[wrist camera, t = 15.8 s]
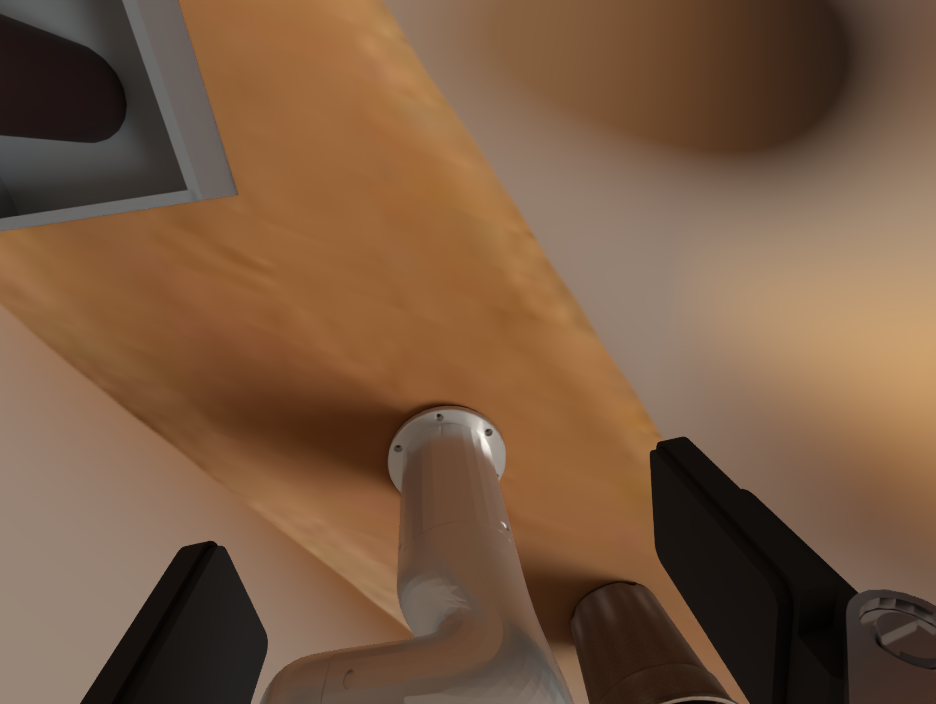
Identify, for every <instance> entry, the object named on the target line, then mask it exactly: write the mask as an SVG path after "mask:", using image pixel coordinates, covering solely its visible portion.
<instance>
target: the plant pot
mask: <svg viewBox="0 0 936 704" xmlns="http://www.w3.org/2000/svg"><path fill="white" fill-rule="evenodd" d="M570 627H571V633H572V636H573V640H574V644H575V647H576V651H577V655H578V659H579V663H580V667H581V671H582V675H583V679H584V684H585V688H586V692H587V696H588V700H589V704H738V703H737V702H735V701H734V700H732V699H731V698H730V696H729V695H728V694H727V692H726V691H725V689H724V688H723V687H722V685H721V684H720V682H719V681H718V680H717V678H716V677H715V676H714V675H713V674H712V673H710V672H709V671H708V670H707V669H706V668H705V666H704V665H703V664H702V662H701V661H700V659H699V658H698V657H697V655H696V654H695V652H694V651H693V650H692V648H691V647H690V645H689V644H688V643H687V641H686V640H685V638H684V637H683V636H682V634H681V633H680V631H679V630H678V628H677V627H676V626H675V624H674V623H673V621H672V620H671V618H670V617H669V616H668V614H667V613H666V611H665V610H664V608H663V607H662V606H661V604H660V603H659V601H658V600H657V598H656V597H655V595H654V594H653V593H652V592H651V591H650V590H649V589H647V588H646V587H644V586H642V585H639V584H635V585H628V584H625V583H623V582H620V583H614V584H609V585H606V586H603V587H601V588H599V589H597V590H595V591H593V592H591V593H590V594H588V595H587V596H586V597H585V598H584V599H582V600H581V602H580V603H579V604H578V605H577V606H576V609H575V614H574V617H573V618H572V619H571V621H570Z"/></svg>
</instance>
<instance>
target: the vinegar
mask: <svg viewBox="0 0 936 704" xmlns="http://www.w3.org/2000/svg"><path fill="white" fill-rule="evenodd" d="M126 108H127V102H126V97H125V91H124V88H123V86H122V84H121V82H120V80H119V78H118V75H117V73H116V72H115V71H114V70H113V69H112V67H111V66H110V65H109V64H108V63H107V61H106V60H105V59H104V58H102V57H101V56H100V55H98V54H97V53H96V52H94V51H93V50H91V49H90V48H89V47H86V46H84V45H81V44H79V43H76V42H73V41H71V40H68V39H66V38H63V37H60V36H58V35H55V34H52V33H50V32H47V31H44V30H42V29H39V28H37V27H34V26H31V25H29V24H26V23H23V22H21V21H18V20H15V19H13V18H10V17H8V16H5V15H2V14H0V135H1V136H12V137H23V138H34V139H46V140H57V141H68V142H79V143H97V142H100V141H104V140H107V139H109V138H110V137H112V136H113V135H114V134H115V133H116V132H118V131H119V129H120V128H121V126H122V124H123V122H124V120H125V116H126Z"/></svg>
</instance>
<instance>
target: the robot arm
mask: <svg viewBox="0 0 936 704" xmlns="http://www.w3.org/2000/svg"><path fill="white" fill-rule="evenodd" d="M437 414H441V415H437ZM487 429H488V430H487ZM398 445H399V446H398ZM505 463H506V450H505V446H504V442H503V440H502V437H501V434H500V433H499V431H498V430H497V428H496V427H495V425H494V424H493V423H492V422H491V421H490V420H489V419H488V418H486V417H485V416H483V415H482V414H480V413H478V412H476V411H474V410H471V409H469V408H464V407H459V406H440V407H434V408H431V409H427V410H424V411H422V412H420V413H418V414H416V415H414V416H413V417H411V418H410V419H409V420H407V421H406V422H405V423H404V424H403V425H402V426H401V427H400V428H399V429H398V431H397V432H396V434H395V436H394V437H393V439H392V442H391V445H390V448H389V454H388V470H389V474H390V478H391V480H392V482H393V484H394V485H395V487H396V488H397V489H398V491H399V492H400V493H401V504H400V525H399V545H398V565H397V594H398V599H399V604H400V608H401V610H402V613H403V616H404V618H405V620H406V622H407V624H408V626H409V627H410V629H411V630H412V632H413V634H414V635H415V636H416V637H411V638H409V639H406V640H400V641H393V642H386V643H379V644H373V645H366V646H359V647H353V648H345V649H339V650H333V651H327V652H322V653H317V654H313V655H309V656H306V657H302V658H300V659H298V660H295V661H293V662H292V663H290V664H288V665H287V666H285V667H284V668H283V669H282V670H281V671H279V672H278V673H277V674H276V675H275V677H274V678H273V680H272V681H271V682H270V683H269V685H268V687H267V688H266V690H265V692H264V695H263V697H262V699H261V701H260V704H574V702H573V699H572V696H571V694H570V691H569V689H568V686H567V683H566V681H565V679H564V676H563V674H562V672H561V670H560V667H559V665H558V663H557V661H556V659H555V657H554V655H553V653H552V651H551V648H550V646H549V644H548V642H547V640H546V638H545V635H544V633H543V631H542V629H541V626H540V624H539V621H538V619H537V616H536V614H535V611H534V608H533V605H532V602H531V599H530V596H529V593H528V589H527V586H526V583H525V579H524V576H523V572H522V568H521V564H520V561H519V557H518V553H517V550H516V546H515V542H514V538H513V535H512V531H511V527H510V523H509V519H508V515H507V512H506V508H505V504H504V500H503V496H502V492H501V488H500V485H499V480H500V479H501V476H502V474H503V472H504V468H505ZM650 468H651V486H652V503H653V520H654V538H655V548H656V552H657V555H658V558H659V560H660V562H661V564H662V565H663V567H664V568H665V570H666V572H667V573H668V575H669V576H670V578H671V580H672V581H673V583H674V584H675V586H676V587H677V589H678V591H679V592H680V594H681V595H682V597H683V599H684V600H685V602H686V603H687V605H688V606H689V608H690V610H691V611H692V613H693V614H694V616H695V617H696V619H697V621H698V622H699V624H700V625H701V627H702V629H703V630H704V632H705V633H706V635H707V636H708V638H709V640H710V641H711V643H712V644H713V646H714V648H715V649H716V651H717V652H718V654H719V655H720V657H721V659H722V660H723V662H724V663H725V665H726V667H727V668H728V670H729V671H730V673H731V674H732V676H733V678H734V679H735V681H736V682H737V684H738V685H739V687H740V689H741V690H742V692H743V693H744V695H745V697H746V698H747V700H748V701H749V703H750V704H936V606H935V605H933V604H931V603H930V602H928V601H926V600H924V599H921V598H918V597H915V596H912V595H909V594H907V593H903V592H897V591H892V590H885V589H881V590H867V591H864V592H861V593H858V592H857V591H856V590H855V589H854V588H852V587H851V586H850V585H849V584H848V583H847V582H846V581H845V580H844V579H843V578H842V577H841V576H840V575H839V574H838V573H837V572H836V571H834V570H833V569H832V568H831V567H830V566H829V565H828V564H827V563H826V562H825V561H824V560H823V559H822V558H821V557H820V556H819V555H817V554H816V553H815V552H814V551H813V550H812V549H811V548H810V547H809V546H808V545H807V544H806V543H805V542H804V541H803V540H802V539H800V538H799V537H798V536H797V535H796V534H795V533H794V532H793V531H792V530H791V529H790V528H789V527H788V526H787V525H786V524H784V523H783V522H782V521H781V520H780V519H779V518H778V517H777V516H776V515H775V514H774V513H773V512H772V511H771V510H770V509H769V508H767V507H766V506H765V505H764V504H763V503H762V502H761V501H760V500H759V499H758V498H757V497H756V496H755V495H753V494H752V493H751V492H749V491H748V490H745V489H740V488H739V487H738V486H737V485H736V484H735V483H734V482H733V481H732V480H731V479H730V478H729V477H728V476H727V475H726V474H724V473H723V472H722V471H721V470H720V469H719V468H718V467H717V466H716V465H715V464H714V463H713V462H712V461H711V460H710V459H709V458H708V457H707V456H706V455H705V454H704V453H703V452H702V451H701V450H699V448H697V447H696V446H695V445H694V444H693V443H692V442H691V441H690V440H689V439H688V438H686V437H679V438H675V439H670V440H665V441H660V442H658V443H657V446H656V450H652V451H651V452H650ZM267 647H268V639H267V634H266V632H265V629H264V627H263V625H262V623H261V621H260V619H259V617H258V615H257V613H256V611H255V609H254V607H253V604H252V602H251V600H250V598H249V596H248V594H247V592H246V590H245V588H244V585H243V583H242V582H241V579H240V577H239V575H238V573H237V571H236V569H235V567H234V565H233V562H232V560H231V558H230V556H229V554H228V552H227V550H226V549H225V547H223V546H218V545H217V544H216V543H215V542H214V541H207V542H203V543H198V544H193V545H189V546H185V547H182V548H181V549H180V550H179V551H178V553H177V554H176V556H175V557H174V559H173V560H172V562H171V563H170V565H169V567H168V568H167V570H166V571H165V573H164V574H163V576H162V577H161V579H160V581H159V582H158V584H157V585H156V587H155V588H154V590H153V591H152V593H151V594H150V596H149V597H148V599H147V601H146V602H145V604H144V605H143V607H142V609H141V610H140V611H139V613H138V614H137V616H136V618H135V619H134V621H133V622H132V624H131V626H130V627H129V628H128V630H127V632H126V633H125V635H124V636H123V638H122V639H121V641H120V643H119V644H118V646H117V647H116V649H115V650H114V652H113V653H112V655H111V656H110V658H109V660H108V661H107V663H106V664H105V666H104V667H103V669H102V670H101V672H100V673H99V675H98V677H97V678H96V680H95V681H94V683H93V685H92V686H91V688H90V689H89V691H88V692H87V694H86V695H85V697H84V698H83V700H82V702H81V703H80V704H251V700H252V697H253V694H254V691H255V688H256V685H257V681H258V678H259V675H260V672H261V669H262V666H263V663H264V659H265V657H266V653H267Z"/></svg>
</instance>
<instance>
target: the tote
mask: <svg viewBox="0 0 936 704" xmlns="http://www.w3.org/2000/svg"><path fill="white" fill-rule="evenodd" d="M0 14H2V15H5V16H8V17H10V18H13V19H15V20H18V21H21V22H23V23H26V24H29V25H31V26H34V27H37V28H39V29H42V30H44V31H47V32H50V33H52V34H55V35H58V36H60V37H63V38H66V39H68V40H71V41H73V42H76V43H79V44H81V45H84V46H86V47H89V48H90V49H91V50H93V51H94V52H96V53H97V54H98V55H100V56H101V57H102V58H104V59H105V60H106V61H107V63H108V64H109V65H110V66H111V67H112V69H113V70H114V71H115V72H116V73H117V75H118V78H119V80H120V82H121V84H122V86H123V88H124V91H125V97H126V102H127V108H126V116H125V120H124V122H123V124H122V126H121V128H120V129H119V131H118V132H116V133H115V134H114V135H113V136H112V137H110V138H109V139H107V140H104V141H100V142H97V143H79V142H68V141H57V140H46V139H34V138H23V137H12V136H1V135H0V231H6V230H13V229H19V228H26V227H33V226H39V225H46V224H52V223H59V222H65V221H72V220H78V219H85V218H91V217H98V216H104V215H111V214H117V213H124V212H130V211H137V210H143V209H150V208H156V207H163V206H169V205H176V204H182V203H189V202H195V201H202V200H208V199H215V198H221V197H228V196H234V195H238V193H237V190H236V186H235V183H234V180H233V177H232V173H231V170H230V167H229V164H228V160H227V157H226V154H225V151H224V148H223V144H222V141H221V138H220V135H219V131H218V128H217V125H216V122H215V118H214V115H213V112H212V109H211V106H210V102H209V99H208V96H207V93H206V89H205V86H204V83H203V80H202V76H201V73H200V70H199V67H198V64H197V60H196V57H195V54H194V51H193V47H192V44H191V41H190V38H189V34H188V31H187V28H186V25H185V22H184V18H183V15H182V12H181V9H180V5H179V2H178V0H0Z"/></svg>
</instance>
